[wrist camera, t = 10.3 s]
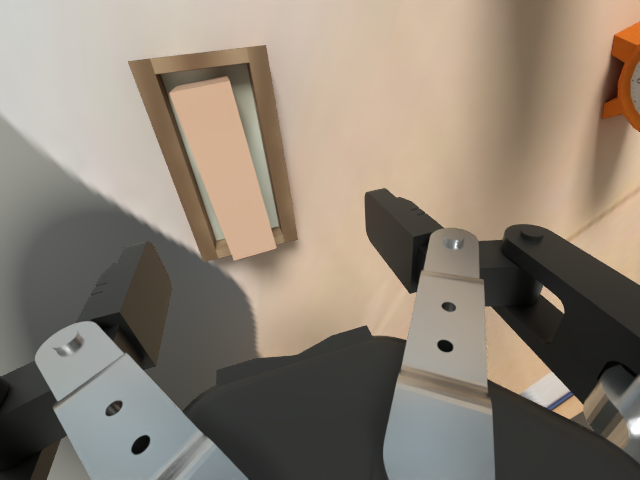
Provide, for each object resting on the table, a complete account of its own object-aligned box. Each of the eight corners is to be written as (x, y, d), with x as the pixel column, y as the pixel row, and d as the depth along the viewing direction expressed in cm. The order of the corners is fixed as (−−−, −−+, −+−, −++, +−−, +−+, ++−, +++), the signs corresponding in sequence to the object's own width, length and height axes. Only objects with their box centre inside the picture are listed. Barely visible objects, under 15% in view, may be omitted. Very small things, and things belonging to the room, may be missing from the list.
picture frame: (261, 45, 26) (265, 45, 24) (292, 226, 36) (297, 239, 34) (136, 60, 25) (128, 61, 22) (204, 246, 34) (203, 261, 32)
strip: (226, 75, 26) (229, 80, 21) (267, 219, 34) (276, 248, 29) (178, 84, 25) (169, 92, 20) (231, 229, 33) (233, 260, 28)
